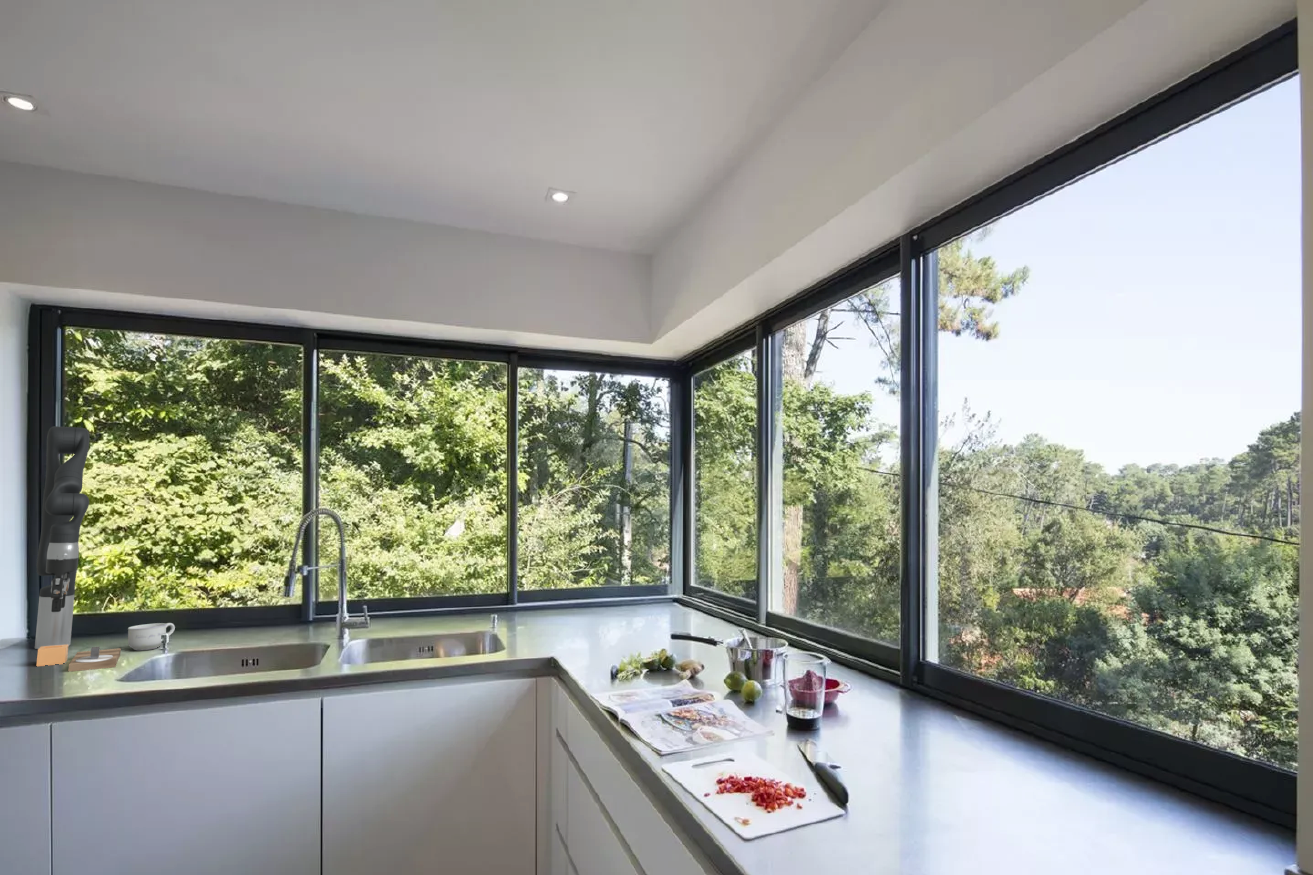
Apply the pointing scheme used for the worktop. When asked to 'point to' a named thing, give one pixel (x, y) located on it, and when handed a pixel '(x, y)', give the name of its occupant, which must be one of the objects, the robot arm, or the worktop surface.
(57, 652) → the orange block
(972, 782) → the worktop surface
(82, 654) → the shaft board
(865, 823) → the worktop surface
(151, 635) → the teacup
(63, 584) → the robot arm
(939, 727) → the worktop surface
